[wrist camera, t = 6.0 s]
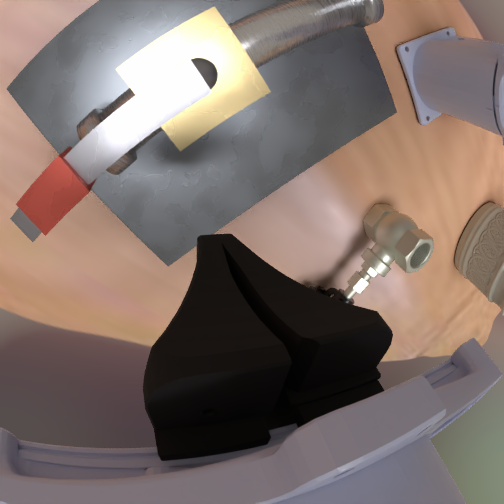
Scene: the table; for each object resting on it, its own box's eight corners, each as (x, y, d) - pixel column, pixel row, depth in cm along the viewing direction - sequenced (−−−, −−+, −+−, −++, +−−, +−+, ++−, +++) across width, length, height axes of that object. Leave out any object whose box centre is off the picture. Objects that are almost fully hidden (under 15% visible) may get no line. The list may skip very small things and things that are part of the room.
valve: (372, 185, 24) (293, 283, 28) (422, 219, 19) (324, 333, 23) (402, 217, 28) (333, 300, 32) (445, 251, 23) (363, 343, 26)
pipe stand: (288, -76, 9) (330, -108, 5) (389, 110, 20) (442, 127, 16) (13, 87, 11) (-35, 97, 7) (167, 258, 22) (173, 312, 18)
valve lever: (199, 49, 10) (207, 43, 8) (223, 84, 11) (234, 86, 9) (22, 198, 11) (4, 218, 9) (47, 225, 12) (33, 248, 10)
